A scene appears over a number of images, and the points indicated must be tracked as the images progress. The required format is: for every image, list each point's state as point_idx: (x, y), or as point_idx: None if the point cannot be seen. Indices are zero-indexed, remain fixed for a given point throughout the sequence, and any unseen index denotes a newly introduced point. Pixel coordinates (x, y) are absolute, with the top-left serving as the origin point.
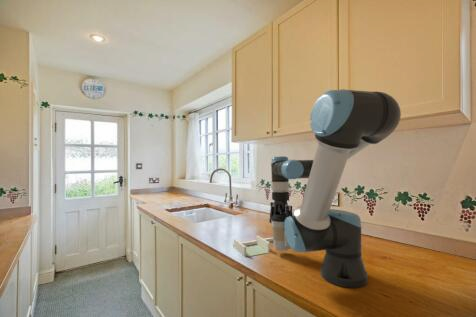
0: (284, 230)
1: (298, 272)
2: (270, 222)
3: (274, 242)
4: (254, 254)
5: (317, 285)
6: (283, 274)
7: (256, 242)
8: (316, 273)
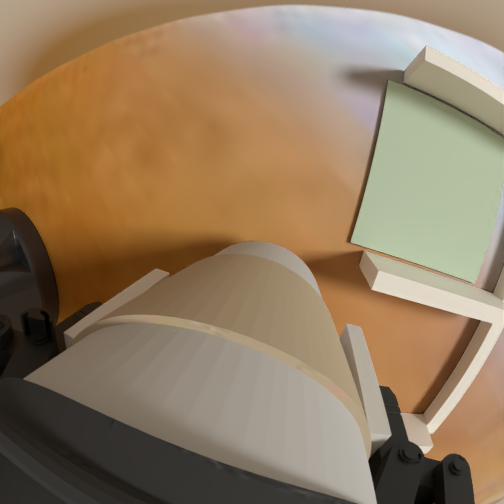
0: (51, 316)
1: (76, 174)
2: (448, 460)
3: (270, 256)
4: (388, 132)
5: (19, 162)
6: (98, 103)
7: (496, 296)
8: (48, 228)
